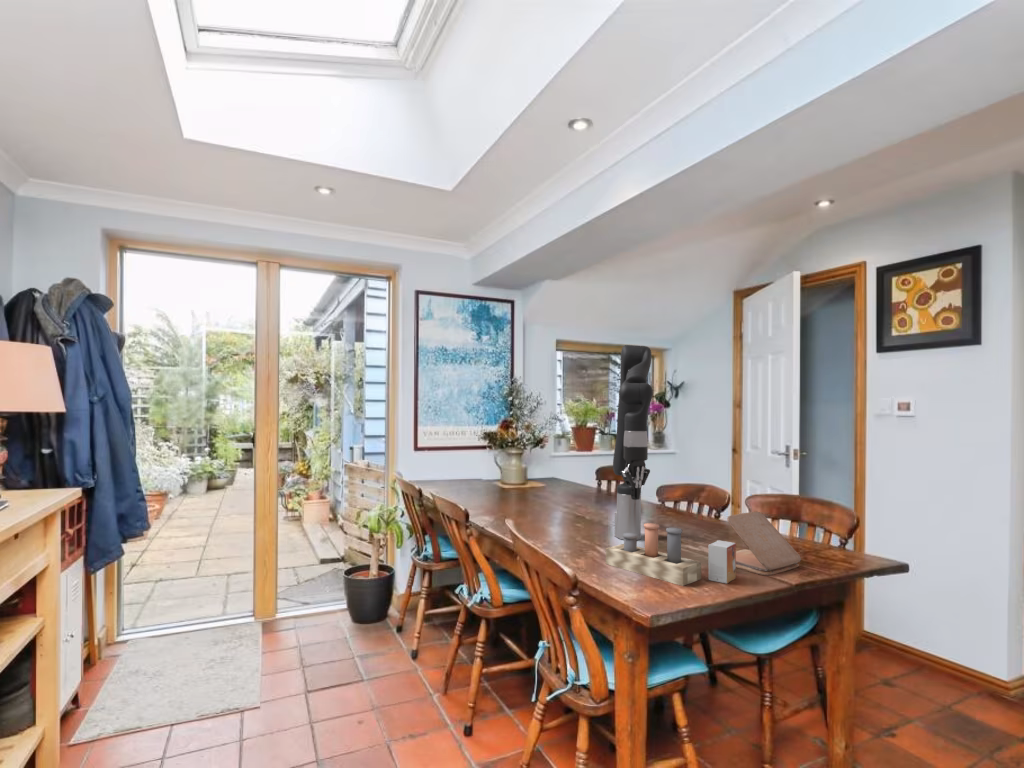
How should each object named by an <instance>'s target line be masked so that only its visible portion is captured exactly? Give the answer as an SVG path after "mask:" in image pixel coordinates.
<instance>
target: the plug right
mask: <svg viewBox="0 0 1024 768" xmlns="http://www.w3.org/2000/svg"><path fill="white" fill-rule="evenodd" d="M665 532H666V534H667V535H666V546H667V547H666V550H667V552H666V554H667V562H671V563H675V564H678V563H681V557H682V534H683V529H682V528H678V527H666V529H665Z"/></svg>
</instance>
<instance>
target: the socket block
mask: <svg viewBox="0 0 1024 768" xmlns="http://www.w3.org/2000/svg"><path fill="white" fill-rule="evenodd" d="M605 564H606V565H608V566H611V567H615V568H618V569H622V570H625V571H629V572H632V573H636V574H640V575H643V576H646V577H649V578H654V579H658V580H661V581H665V582H666V583H671V584H674V585H678V586H682V587H684V586H686V585H689V584H692V583H694V582H697V581H700V580H702V562H701V561H699V560H695V559H694V560H693V559H690V558H686V557H683V556H681V563H678V564H675V563H671V562H667V552H662V551H658V557H655V558H652V557H648V556H645V547H640V546H637V551H636V552H628V551H624V543H621V544H617V545H613V546H609V547H605Z"/></svg>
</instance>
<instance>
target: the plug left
mask: <svg viewBox="0 0 1024 768" xmlns="http://www.w3.org/2000/svg"><path fill="white" fill-rule="evenodd" d="M623 537H624V540H623V544H624V551H628V552H636V551H637V547H638V546H637V545H638V544H637V543H638V540H637V538H638V535H637V534H634V533H624V534H623Z"/></svg>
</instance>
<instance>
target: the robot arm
mask: <svg viewBox="0 0 1024 768" xmlns="http://www.w3.org/2000/svg"><path fill="white" fill-rule="evenodd" d="M651 364H652V350H651V348H650V347H649V346H646V345H635V344H634V345H632V344H631V345H630V344H626V345H624V346H622V347H621V351H620V373H619V374H620V377H619V378H620V381H619V384H620V385H619V389H618V402H617V403H618V405H617V417H616V418H617V421H616V423H617V424H616V437H615V438H616V439H615V445H614V452H613V459H612V469H613V474H614V475H616V476H621V477H622V479H623V481H624V482H623V483H620V484H619V485H617V486H616V511H614V537H616V538H617V539H620V540H623V541H624V537H623V534H624V533H634V534H637V535H638V538H637V541H639V540H641V538H642V523H641V522H642V513H641V512H642V486H645V484H646V482H647V480H648V477H649V475H650V473H651V470H650V469H648V468H647V467H646V463H645V462H646V461H647V460H648V458H649V457H648V454H649V453H648V450H649V449H648V444H649V443H648V441H649V440H648V414H649V409H650V406H651V402H652V398H653V396H654V395H653V393H654V391H653V388H652V386H651V385H650V384H649V383H648V375H649V372H650V368H651Z"/></svg>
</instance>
